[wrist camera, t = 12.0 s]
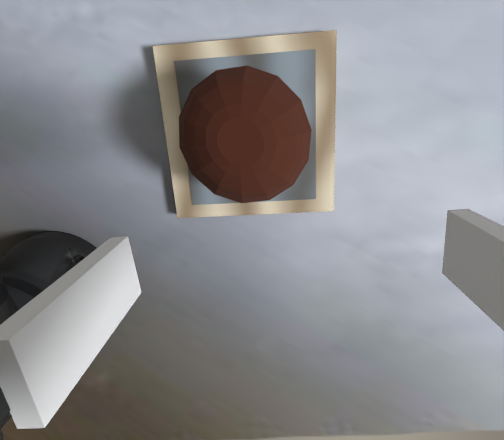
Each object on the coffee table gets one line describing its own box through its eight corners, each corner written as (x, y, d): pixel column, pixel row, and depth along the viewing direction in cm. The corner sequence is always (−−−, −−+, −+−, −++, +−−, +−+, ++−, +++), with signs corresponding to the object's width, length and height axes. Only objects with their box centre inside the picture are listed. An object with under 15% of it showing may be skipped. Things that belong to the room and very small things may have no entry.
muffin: (326, 133, 34) (348, 142, 24) (254, 207, 37) (249, 241, 27) (242, 48, 32) (230, 21, 22) (173, 134, 35) (136, 142, 25)
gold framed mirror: (180, 214, 39) (177, 218, 38) (157, 48, 33) (152, 45, 32) (331, 207, 38) (334, 211, 36) (333, 33, 32) (336, 29, 31)
